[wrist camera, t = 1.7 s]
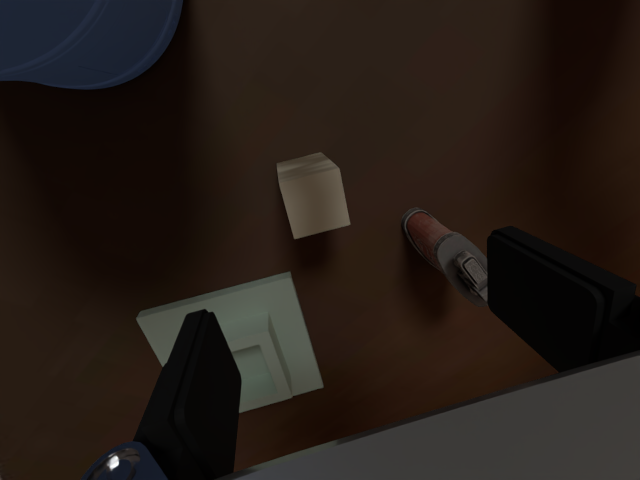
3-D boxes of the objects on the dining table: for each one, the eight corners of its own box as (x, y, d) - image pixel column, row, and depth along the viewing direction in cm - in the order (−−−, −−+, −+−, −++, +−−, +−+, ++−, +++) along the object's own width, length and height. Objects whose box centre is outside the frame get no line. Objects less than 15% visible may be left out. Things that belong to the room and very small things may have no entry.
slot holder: (290, 271, 32) (292, 293, 28) (322, 379, 38) (327, 409, 34) (140, 311, 31) (122, 339, 27) (197, 414, 37) (188, 450, 33)
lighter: (461, 253, 34) (531, 306, 25) (435, 273, 34) (495, 333, 25) (420, 199, 31) (484, 238, 22) (393, 222, 31) (444, 269, 22)
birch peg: (321, 152, 28) (339, 168, 21) (330, 195, 30) (350, 224, 22) (276, 163, 28) (278, 183, 20) (288, 206, 29) (294, 239, 22)
